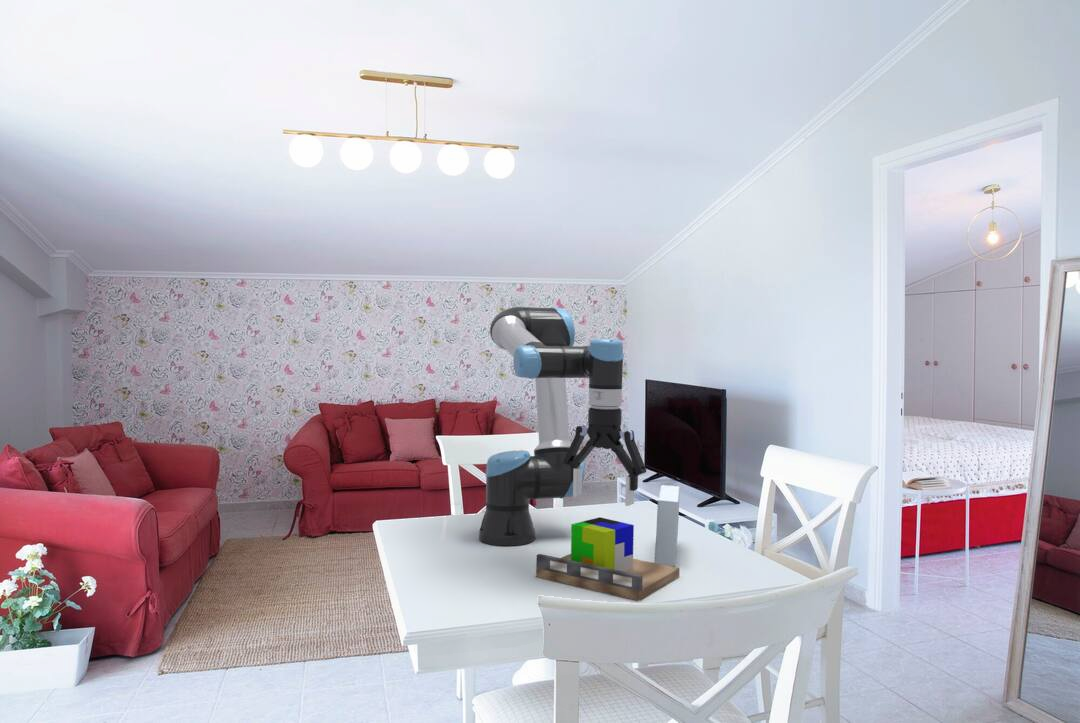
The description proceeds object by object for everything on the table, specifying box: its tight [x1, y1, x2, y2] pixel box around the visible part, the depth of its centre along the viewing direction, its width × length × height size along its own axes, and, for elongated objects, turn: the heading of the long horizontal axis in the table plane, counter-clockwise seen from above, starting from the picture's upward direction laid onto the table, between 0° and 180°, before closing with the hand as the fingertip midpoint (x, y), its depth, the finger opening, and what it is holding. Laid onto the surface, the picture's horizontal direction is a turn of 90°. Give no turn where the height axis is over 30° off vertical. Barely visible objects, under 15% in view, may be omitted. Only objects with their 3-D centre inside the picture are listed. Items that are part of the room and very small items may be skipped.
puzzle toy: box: [570, 516, 635, 572], centre depth 167 cm, size 10×10×10 cm
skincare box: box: [653, 484, 680, 567], centre depth 186 cm, size 21×6×16 cm, turn 168°
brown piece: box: [535, 553, 680, 601], centre depth 167 cm, size 26×20×5 cm
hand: (602, 500), depth 167 cm, fingers open, 13 cm apart
